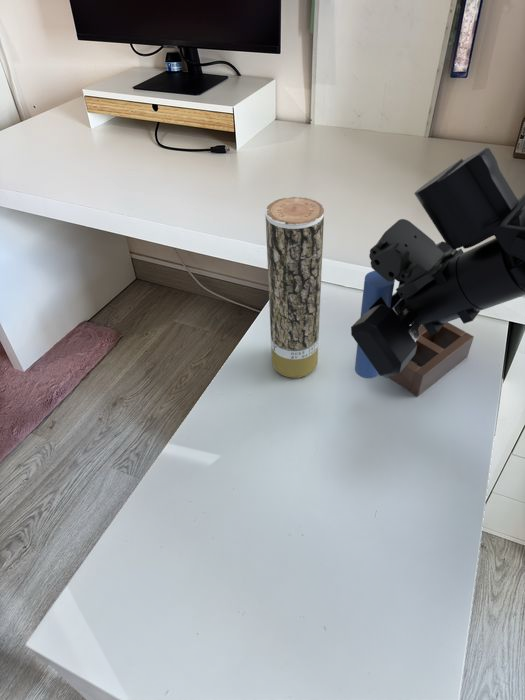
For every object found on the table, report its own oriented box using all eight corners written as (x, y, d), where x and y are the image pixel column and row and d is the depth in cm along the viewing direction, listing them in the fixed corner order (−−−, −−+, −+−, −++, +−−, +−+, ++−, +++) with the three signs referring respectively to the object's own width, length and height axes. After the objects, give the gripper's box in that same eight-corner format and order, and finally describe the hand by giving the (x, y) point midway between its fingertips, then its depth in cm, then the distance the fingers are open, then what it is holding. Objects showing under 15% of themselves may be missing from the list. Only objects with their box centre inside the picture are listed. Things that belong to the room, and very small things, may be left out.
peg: (381, 378, 63) (396, 287, 53) (355, 378, 63) (365, 287, 54) (378, 361, 65) (393, 270, 56) (353, 360, 66) (363, 270, 56)
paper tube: (321, 352, 77) (329, 199, 60) (311, 384, 72) (316, 228, 55) (279, 345, 79) (274, 194, 62) (266, 375, 74) (257, 221, 57)
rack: (467, 356, 75) (474, 336, 72) (417, 396, 70) (422, 376, 67) (430, 335, 79) (435, 315, 76) (380, 371, 73) (383, 351, 71)
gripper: (469, 172, 52) (364, 237, 64) (380, 254, 41) (276, 311, 54) (525, 262, 53) (412, 307, 66) (452, 362, 43) (335, 392, 56)
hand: (362, 326), depth 60 cm, fingers closed on peg, 3 cm apart
